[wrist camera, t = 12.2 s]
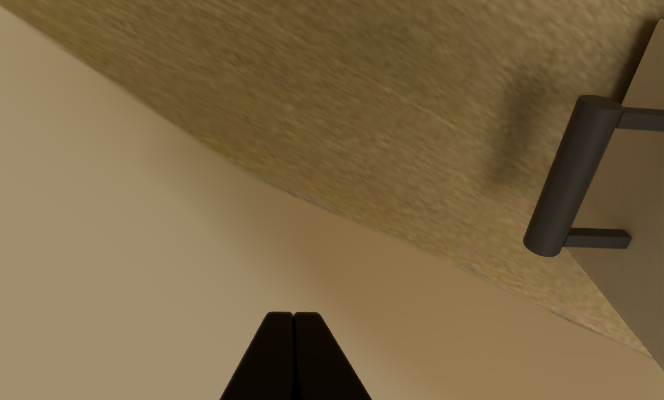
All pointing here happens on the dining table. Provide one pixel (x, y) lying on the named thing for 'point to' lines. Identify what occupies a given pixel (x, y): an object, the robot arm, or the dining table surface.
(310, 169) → the dining table surface
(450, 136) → the dining table surface
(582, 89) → the dining table surface
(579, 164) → the drawer
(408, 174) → the dining table surface
